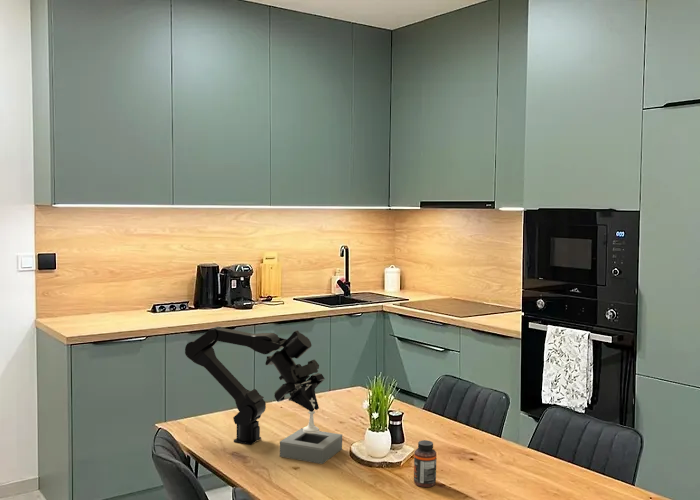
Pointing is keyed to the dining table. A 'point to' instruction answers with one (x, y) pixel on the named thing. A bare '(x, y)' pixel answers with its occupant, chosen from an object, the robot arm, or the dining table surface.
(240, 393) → the robot arm
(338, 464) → the dining table surface
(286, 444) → the gray square open box
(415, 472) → the supplement bottle
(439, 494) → the dining table surface
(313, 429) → the chess piece
